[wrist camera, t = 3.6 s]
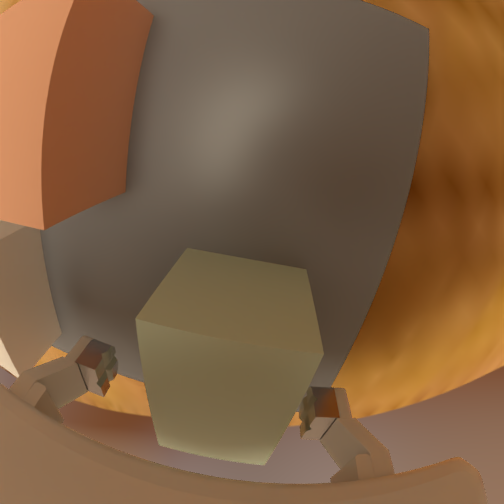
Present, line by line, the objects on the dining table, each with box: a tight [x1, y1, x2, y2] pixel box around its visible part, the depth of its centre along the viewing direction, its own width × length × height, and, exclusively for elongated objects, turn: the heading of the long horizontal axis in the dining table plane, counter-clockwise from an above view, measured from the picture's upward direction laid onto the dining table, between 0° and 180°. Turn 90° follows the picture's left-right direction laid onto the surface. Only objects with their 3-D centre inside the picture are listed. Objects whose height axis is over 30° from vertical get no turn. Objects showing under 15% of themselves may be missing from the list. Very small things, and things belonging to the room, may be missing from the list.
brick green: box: [135, 248, 324, 465], centre depth 10 cm, size 5×8×5 cm, turn 171°
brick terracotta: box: [0, 0, 154, 230], centre depth 7 cm, size 5×8×5 cm, turn 171°
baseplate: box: [0, 0, 429, 412], centre depth 9 cm, size 26×22×6 cm
